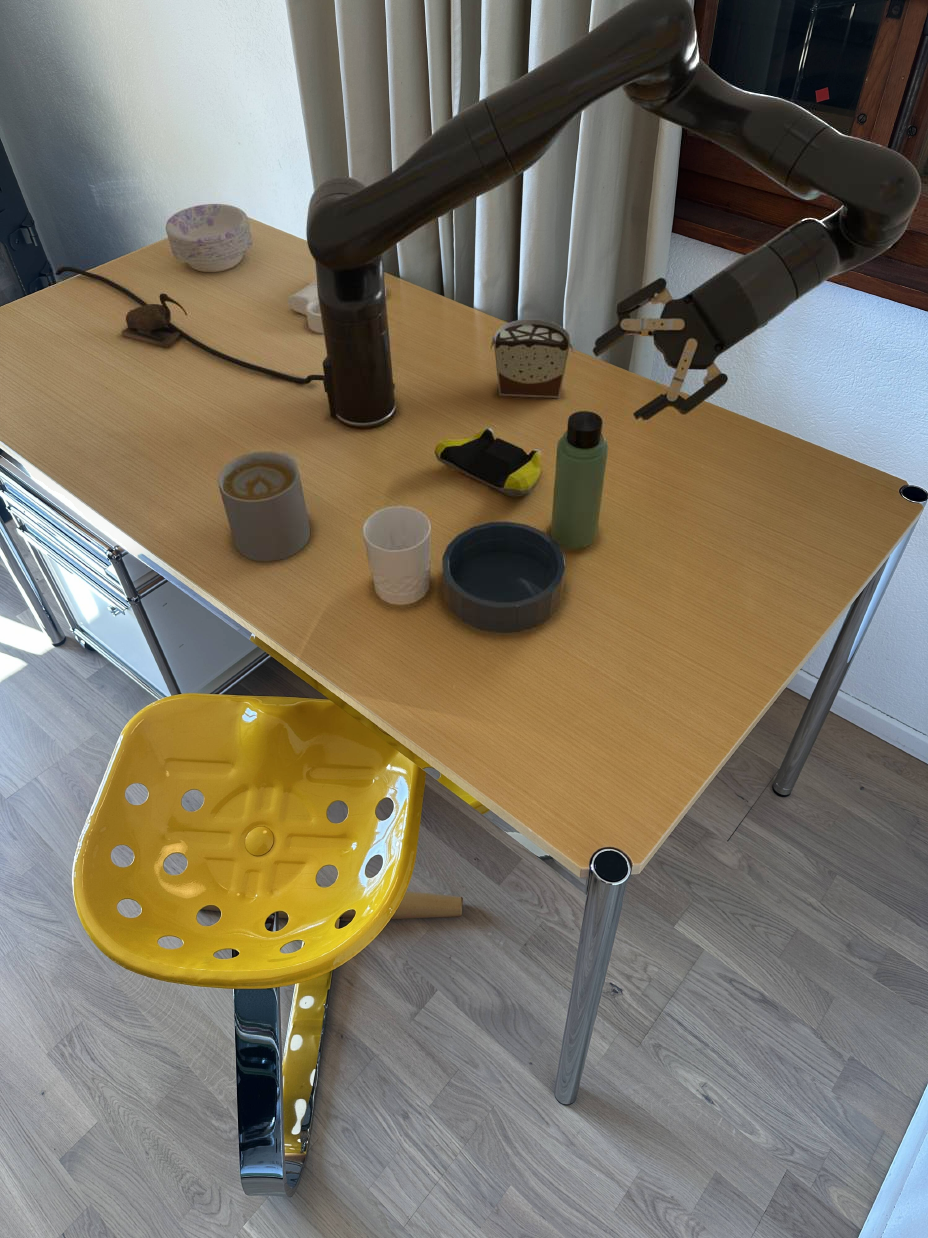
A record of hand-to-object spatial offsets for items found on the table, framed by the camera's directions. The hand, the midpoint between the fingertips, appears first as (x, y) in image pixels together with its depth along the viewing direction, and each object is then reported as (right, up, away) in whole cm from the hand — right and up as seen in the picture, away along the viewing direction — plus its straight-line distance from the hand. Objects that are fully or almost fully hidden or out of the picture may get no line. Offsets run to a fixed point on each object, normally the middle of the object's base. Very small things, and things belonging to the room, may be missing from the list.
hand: (614, 384), depth 99 cm
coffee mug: (-42, -14, +18) cm, 47 cm away
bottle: (-3, -16, +16) cm, 22 cm away
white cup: (-25, -23, +10) cm, 35 cm away
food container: (-7, +10, +39) cm, 41 cm away
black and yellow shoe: (-13, -7, +24) cm, 28 cm away
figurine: (-69, +21, +51) cm, 88 cm away
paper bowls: (-65, +42, +70) cm, 104 cm away
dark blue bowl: (-12, -23, +9) cm, 28 cm away
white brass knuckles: (-39, +29, +57) cm, 75 cm away
